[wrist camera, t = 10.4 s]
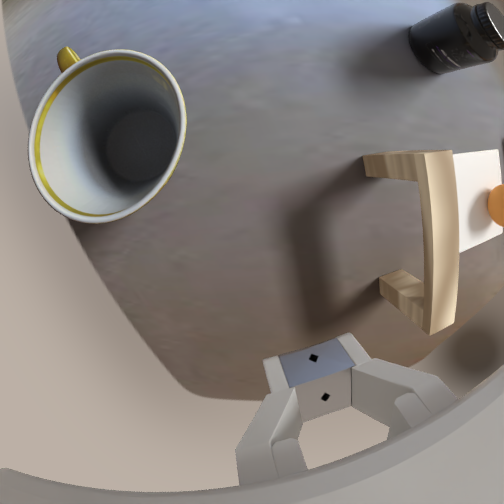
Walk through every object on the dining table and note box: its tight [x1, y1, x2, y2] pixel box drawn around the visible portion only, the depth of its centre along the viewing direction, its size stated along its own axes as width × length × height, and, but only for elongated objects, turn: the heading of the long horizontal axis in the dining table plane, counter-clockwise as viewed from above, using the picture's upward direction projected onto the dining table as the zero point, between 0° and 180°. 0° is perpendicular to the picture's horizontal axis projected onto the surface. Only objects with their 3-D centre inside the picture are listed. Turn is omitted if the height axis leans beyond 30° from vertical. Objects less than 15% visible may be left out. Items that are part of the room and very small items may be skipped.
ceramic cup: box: [28, 47, 187, 224], centre depth 17 cm, size 13×10×10 cm
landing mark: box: [453, 149, 503, 253], centre depth 27 cm, size 12×12×1 cm
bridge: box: [362, 150, 459, 336], centre depth 22 cm, size 3×14×9 cm, turn 14°
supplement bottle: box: [409, 2, 504, 74], centre depth 16 cm, size 7×7×12 cm
